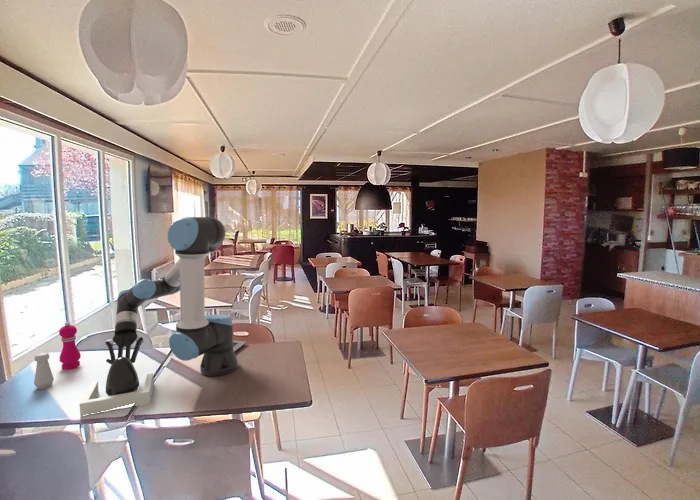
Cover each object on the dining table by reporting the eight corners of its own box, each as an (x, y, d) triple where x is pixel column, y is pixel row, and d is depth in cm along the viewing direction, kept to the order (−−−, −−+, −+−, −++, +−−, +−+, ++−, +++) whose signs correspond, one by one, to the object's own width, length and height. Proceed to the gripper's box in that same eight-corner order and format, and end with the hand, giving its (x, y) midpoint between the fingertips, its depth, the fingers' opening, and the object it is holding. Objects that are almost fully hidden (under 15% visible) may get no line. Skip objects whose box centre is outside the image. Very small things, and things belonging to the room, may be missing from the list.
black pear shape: (119, 389, 137) (116, 351, 135) (145, 391, 136) (143, 352, 134) (98, 404, 127) (95, 363, 125) (127, 406, 126) (124, 364, 124)
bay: (92, 394, 134) (91, 382, 134) (153, 384, 142) (153, 373, 142) (80, 416, 120) (79, 403, 119) (149, 404, 128) (149, 391, 127)
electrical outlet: (233, 355, 171) (233, 350, 171) (213, 354, 173) (213, 349, 173) (246, 345, 184) (246, 341, 184) (227, 344, 186) (227, 339, 186)
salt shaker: (32, 391, 136) (29, 358, 135) (37, 385, 141) (33, 352, 140) (52, 388, 139) (49, 355, 137) (56, 381, 144) (53, 350, 142)
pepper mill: (56, 369, 155) (52, 323, 153) (74, 362, 162) (70, 318, 160) (67, 372, 153) (63, 325, 150) (85, 365, 159) (81, 320, 157)
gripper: (145, 327, 154) (143, 382, 141) (109, 331, 149) (103, 388, 136) (143, 318, 149) (140, 374, 136) (105, 322, 144) (99, 381, 130)
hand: (122, 381), depth 136 cm, fingers closed
